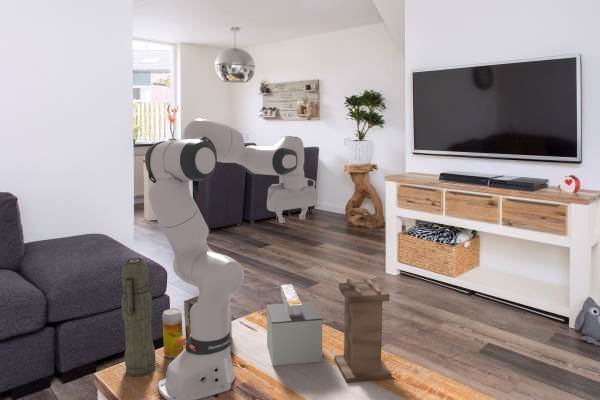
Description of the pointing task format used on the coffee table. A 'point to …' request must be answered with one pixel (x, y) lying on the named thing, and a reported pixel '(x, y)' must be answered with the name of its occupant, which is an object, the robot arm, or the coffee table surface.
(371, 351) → the stand
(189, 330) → the coffee box
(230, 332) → the skincare box
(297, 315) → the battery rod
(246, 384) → the coffee table surface
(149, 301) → the thermos
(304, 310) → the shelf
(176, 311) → the beer can
